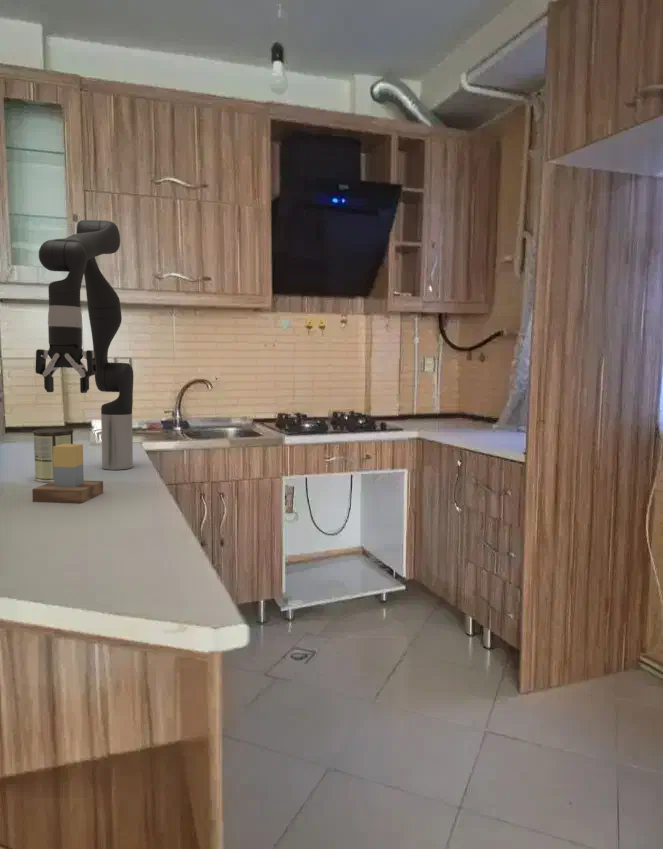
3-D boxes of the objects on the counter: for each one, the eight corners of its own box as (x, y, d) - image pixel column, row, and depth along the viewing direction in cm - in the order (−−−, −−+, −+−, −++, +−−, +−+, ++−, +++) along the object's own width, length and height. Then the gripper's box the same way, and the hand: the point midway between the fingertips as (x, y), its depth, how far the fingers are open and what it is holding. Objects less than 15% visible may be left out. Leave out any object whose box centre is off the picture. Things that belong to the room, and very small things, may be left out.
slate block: (64, 482, 153) (63, 463, 152) (83, 483, 153) (83, 463, 152) (54, 486, 148) (53, 466, 147) (74, 487, 148) (73, 467, 147)
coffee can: (47, 474, 178) (46, 427, 176) (80, 476, 177) (79, 428, 175) (26, 481, 168) (25, 431, 166) (61, 483, 167) (60, 432, 165)
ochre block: (64, 463, 152) (63, 443, 152) (83, 463, 152) (82, 444, 152) (53, 466, 147) (53, 446, 147) (73, 467, 147) (72, 447, 147)
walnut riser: (58, 490, 157) (58, 479, 157) (103, 492, 156) (102, 481, 156) (32, 501, 145) (32, 489, 145) (81, 503, 144) (81, 490, 144)
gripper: (100, 327, 150) (101, 392, 151) (45, 326, 150) (46, 391, 152) (86, 325, 142) (88, 394, 144) (28, 324, 143) (30, 392, 145)
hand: (66, 392), depth 148 cm, fingers open, 8 cm apart
